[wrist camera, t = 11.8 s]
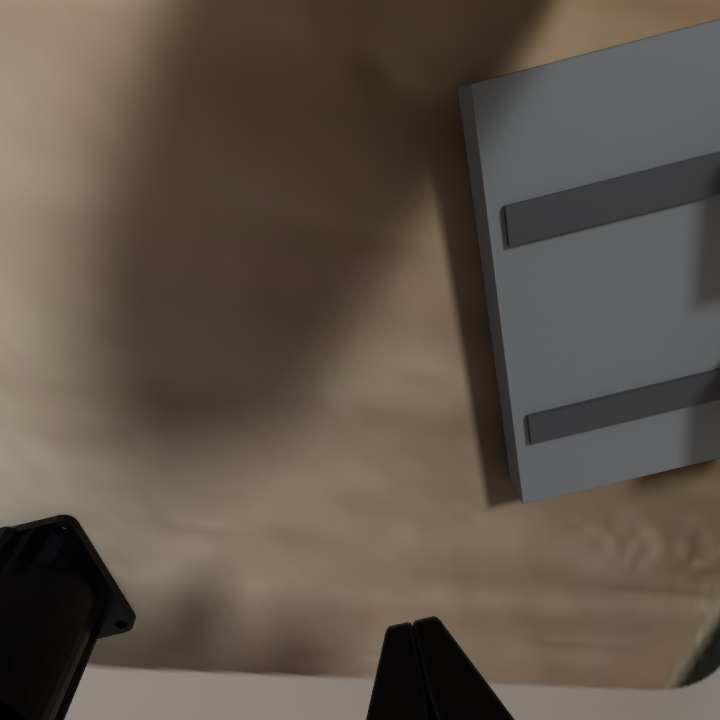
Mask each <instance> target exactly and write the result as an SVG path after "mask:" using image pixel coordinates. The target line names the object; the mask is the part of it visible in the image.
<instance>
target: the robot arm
mask: <svg viewBox="0 0 720 720" xmlns="http://www.w3.org/2000/svg"><path fill="white" fill-rule="evenodd" d="M62 527H65V528H66V529H63V528H62ZM135 619H136V616H135V613H134V612H133V610H132V608H131V607H130V605H129V603H128V602H127V600H126V599H125V597H124V595H123V594H122V592H121V590H120V589H119V587H118V586H117V584H116V582H115V581H114V579H113V577H112V576H111V574H110V573H109V571H108V569H107V568H106V566H105V564H104V563H103V561H102V560H101V558H100V556H99V555H98V553H97V551H96V550H95V548H94V546H93V545H92V543H91V542H90V540H89V538H88V537H87V535H86V533H85V532H84V530H83V529H82V527H81V525H80V524H79V522H78V521H77V520H76V519H75V518H74V517H72V516H70V515H58V516H54V517H50V518H46V519H42V520H37V521H33V522H29V523H25V524H21V525H17V526H13V527H2V528H0V720H64V719H65V716H66V713H67V711H68V709H69V706H70V704H71V702H72V699H73V697H74V694H75V692H76V689H77V687H78V684H79V682H80V680H81V677H82V675H83V672H84V670H85V667H86V665H87V663H88V660H89V658H90V655H91V653H92V650H93V648H94V645H95V643H96V641H97V639H99V638H103V637H107V636H111V635H116V634H120V633H124V632H127V631H130V630H131V629H132V628H133V625H134V622H135ZM413 629H414V630H413ZM414 633H415V634H414ZM366 720H514V718H513V717H512V716H511V714H510V713H509V712H508V711H507V709H506V708H505V706H504V705H503V704H502V702H501V701H500V700H499V698H498V697H497V696H496V694H495V693H494V692H493V690H492V689H491V688H490V686H489V685H488V684H487V682H486V681H485V680H484V678H483V677H482V676H481V674H480V673H479V672H478V670H477V669H476V667H475V666H474V665H473V663H472V662H471V661H470V659H469V658H468V657H467V655H466V654H465V653H464V651H463V650H462V649H461V647H460V646H459V645H458V643H457V642H456V641H455V639H454V638H453V637H452V635H451V634H450V633H449V631H448V630H447V629H446V627H445V626H444V625H443V623H442V622H441V621H440V620H439V619H438V618H437V617H435V616H432V617H428V618H423V619H419V620H416V621H415V622H414V623H413V626H412V624H411V623H409V622H406V623H402V624H397V625H393V626H389V627H388V628H387V630H386V633H385V637H384V641H383V646H382V650H381V655H380V659H379V664H378V668H377V673H376V678H375V682H374V687H373V691H372V696H371V701H370V705H369V709H368V714H367V719H366Z"/></svg>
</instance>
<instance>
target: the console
mask: <svg viewBox="0 0 720 720" xmlns="http://www.w3.org/2000/svg"><path fill="white" fill-rule="evenodd" d="M458 95H459V102H460V109H461V117H462V124H463V132H464V139H465V147H466V154H467V161H468V169H469V176H470V184H471V191H472V199H473V206H474V213H475V221H476V228H477V236H478V243H479V250H480V258H481V265H482V273H483V280H484V288H485V295H486V302H487V310H488V317H489V325H490V332H491V340H492V347H493V354H494V362H495V369H496V377H497V384H498V391H499V399H500V406H501V414H502V421H503V429H504V436H505V443H506V451H507V458H508V466H509V473H510V480H511V482H512V484H513V486H514V488H515V490H516V492H517V494H518V495H519V497H520V499H521V501H522V503H523V505H524V504H528V503H532V502H536V501H540V500H545V499H549V498H553V497H557V496H561V495H566V494H570V493H574V492H578V491H583V490H587V489H591V488H595V487H599V486H604V485H608V484H612V483H616V482H621V481H625V480H629V479H633V478H637V477H642V476H646V475H650V474H654V473H659V472H663V471H667V470H671V469H675V468H680V467H684V466H688V465H692V464H696V463H701V462H705V461H709V460H713V459H718V458H720V19H718V20H714V21H710V22H706V23H702V24H698V25H695V26H691V27H687V28H683V29H679V30H675V31H671V32H668V33H664V34H660V35H656V36H652V37H648V38H644V39H641V40H637V41H633V42H629V43H625V44H621V45H617V46H614V47H610V48H606V49H602V50H598V51H594V52H590V53H587V54H583V55H579V56H575V57H571V58H567V59H563V60H560V61H556V62H552V63H548V64H544V65H540V66H536V67H533V68H529V69H525V70H521V71H517V72H513V73H509V74H506V75H502V76H498V77H494V78H490V79H486V80H482V81H479V82H475V83H471V84H467V85H463V86H459V87H458Z"/></svg>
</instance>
